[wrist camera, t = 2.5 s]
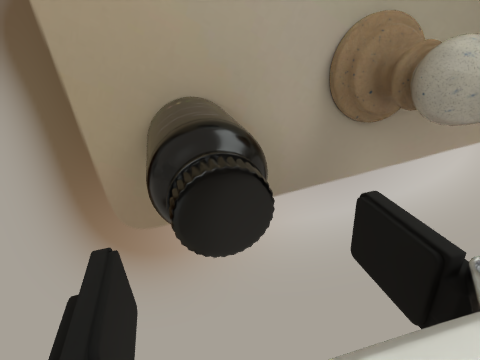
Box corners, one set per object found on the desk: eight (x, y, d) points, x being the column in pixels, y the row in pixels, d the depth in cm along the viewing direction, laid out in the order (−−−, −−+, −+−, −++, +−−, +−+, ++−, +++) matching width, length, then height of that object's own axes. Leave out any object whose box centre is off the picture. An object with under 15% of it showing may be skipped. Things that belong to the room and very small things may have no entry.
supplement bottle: (242, 159, 25) (307, 243, 15) (168, 188, 25) (182, 298, 14) (217, 80, 22) (278, 119, 12) (130, 112, 21) (113, 183, 11)
